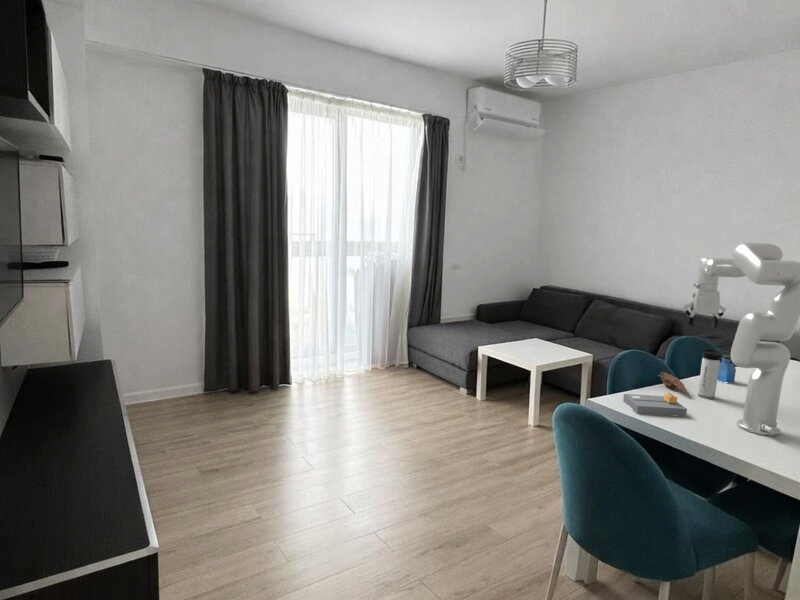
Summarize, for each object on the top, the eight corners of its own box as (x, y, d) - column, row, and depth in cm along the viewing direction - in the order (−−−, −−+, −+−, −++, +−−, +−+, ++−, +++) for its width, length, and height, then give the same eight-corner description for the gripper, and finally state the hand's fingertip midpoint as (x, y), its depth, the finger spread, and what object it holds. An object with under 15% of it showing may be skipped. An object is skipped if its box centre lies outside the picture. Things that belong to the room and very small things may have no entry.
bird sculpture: (678, 397, 211) (680, 386, 211) (651, 379, 236) (652, 369, 235) (694, 398, 211) (696, 386, 211) (665, 380, 236) (666, 370, 235)
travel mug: (709, 394, 217) (715, 349, 214) (717, 399, 211) (724, 353, 208) (694, 393, 218) (700, 348, 215) (701, 398, 211) (708, 352, 208)
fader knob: (676, 403, 193) (677, 396, 193) (668, 402, 194) (669, 395, 193) (671, 399, 197) (672, 392, 197) (663, 399, 198) (664, 392, 197)
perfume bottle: (712, 379, 241) (716, 355, 239) (721, 378, 244) (724, 354, 242) (725, 383, 235) (729, 358, 234) (734, 382, 238) (737, 357, 236)
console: (686, 416, 189) (687, 408, 188) (636, 413, 190) (637, 405, 189) (668, 403, 203) (669, 396, 202) (623, 400, 204) (623, 393, 203)
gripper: (690, 286, 211) (685, 327, 213) (733, 289, 209) (727, 329, 212) (681, 285, 218) (676, 323, 220) (723, 287, 217) (718, 326, 219)
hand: (701, 326), depth 216 cm, fingers open, 9 cm apart
